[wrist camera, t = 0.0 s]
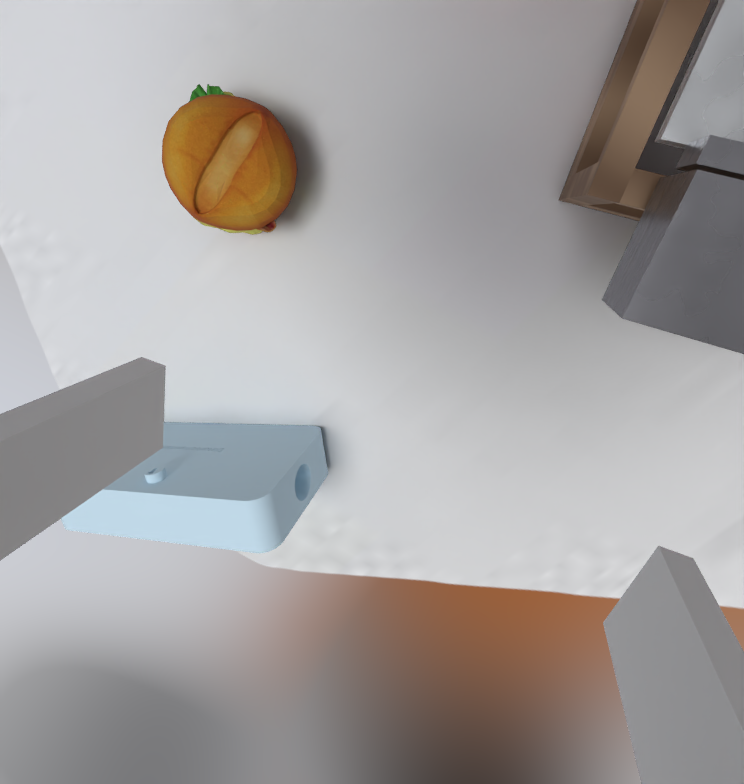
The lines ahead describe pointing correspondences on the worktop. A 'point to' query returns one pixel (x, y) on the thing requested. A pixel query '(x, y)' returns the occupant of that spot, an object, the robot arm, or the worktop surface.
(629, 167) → the frame
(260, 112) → the cheeseburger
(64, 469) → the robot arm
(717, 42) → the trapdoor
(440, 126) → the worktop surface
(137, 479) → the light blue box
